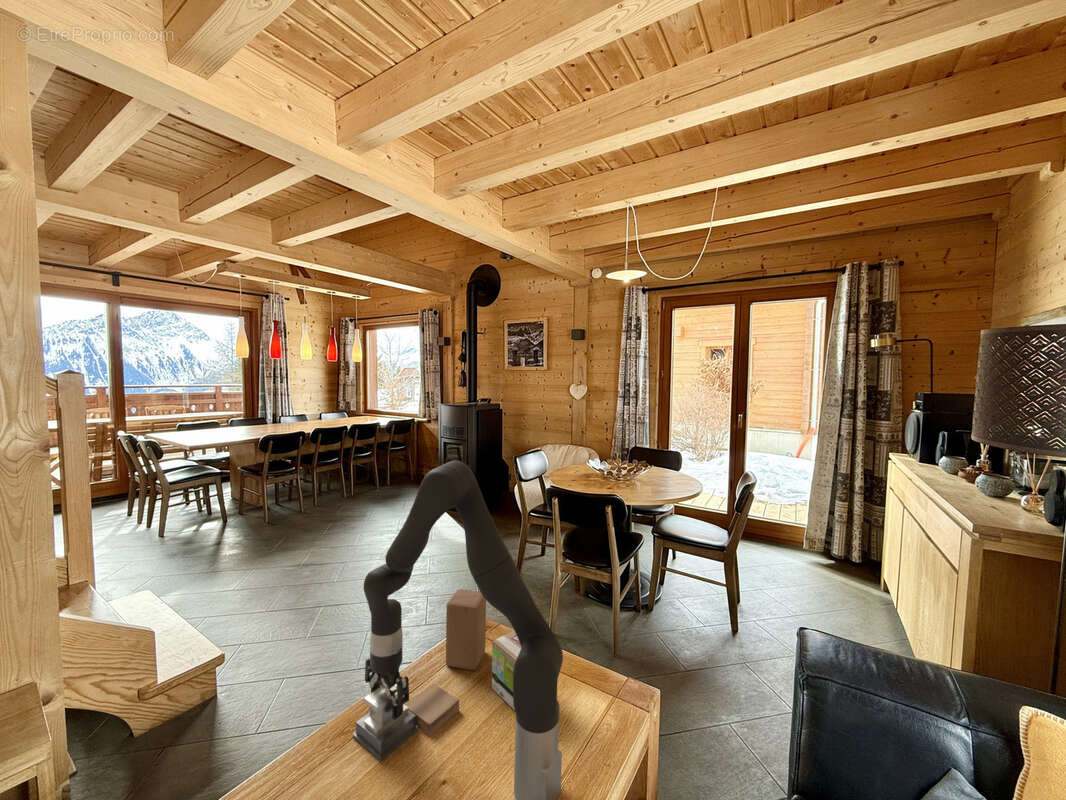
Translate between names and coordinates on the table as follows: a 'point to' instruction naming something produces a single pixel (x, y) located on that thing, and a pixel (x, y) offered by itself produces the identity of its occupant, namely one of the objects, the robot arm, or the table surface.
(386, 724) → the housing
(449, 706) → the stand
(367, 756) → the table surface
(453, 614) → the wooden block
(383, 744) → the stand
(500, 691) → the tea box
